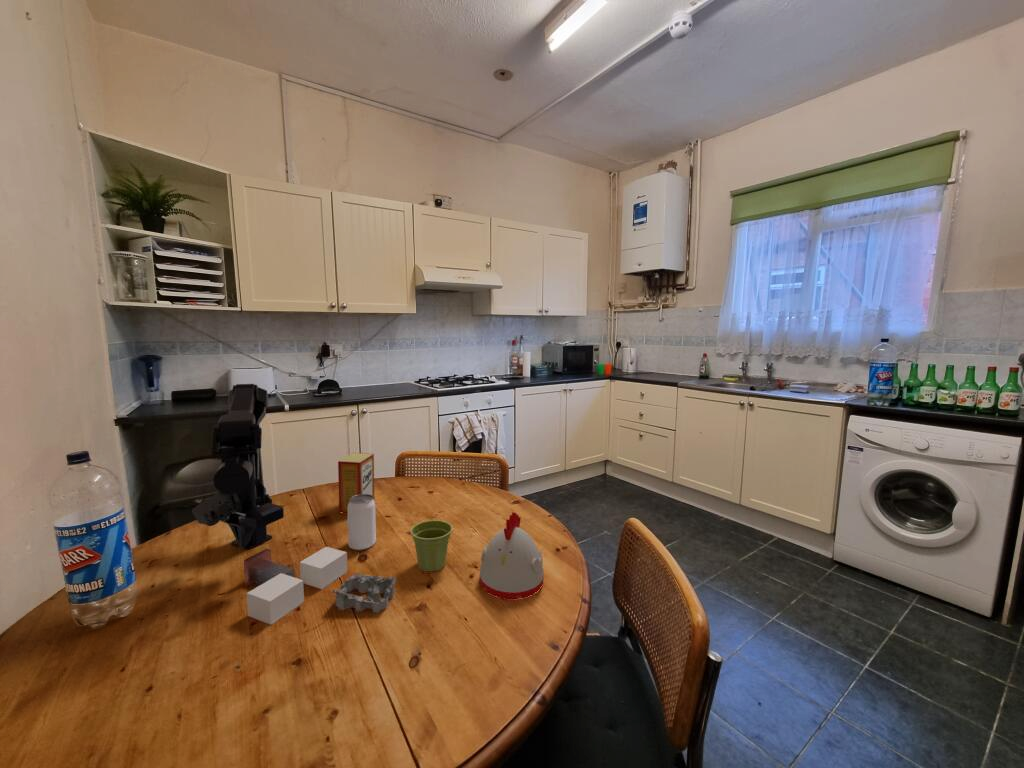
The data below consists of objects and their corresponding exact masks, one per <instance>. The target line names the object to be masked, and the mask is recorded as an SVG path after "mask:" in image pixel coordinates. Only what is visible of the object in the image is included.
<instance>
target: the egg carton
mask: <svg viewBox="0 0 1024 768" xmlns="http://www.w3.org/2000/svg"><path fill="white" fill-rule="evenodd" d="M396 579H397V576H396V575H395V576H388V577H385V576H382V577H381V576H380V575H364V574H361V573H355V574H353V575H351V576H349V577H348V578H347V579H345V581H344V582H343V583H342V584H341V585H340V589H338V588H336V589H333V590H332V594H335V607H337V608H338V610H339V611H345V610H347V609H349V608H354V609H355V612H362V611H364V610H365V609H371V610H372V612H373V613H378V614H379V612H381V611H384V610H387V609H388V607H389V600H390V599H393V598H394V597H395V584H396ZM353 590H358V592H359V593H360V594H365V593H367V596H366V598H365V599H364V597H363V596H361V595H356V594H352V593H350V592H352V591H353ZM381 594H384V596H383V598H381Z"/></svg>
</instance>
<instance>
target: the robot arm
mask: <svg viewBox="0 0 1024 768" xmlns="http://www.w3.org/2000/svg"><path fill="white" fill-rule="evenodd" d="M269 404H270V402H269V395H268V391H267V390H266V389H265V388H262V387H259V386H258V384H255V383H237V384H234V385H232V389H230V390H229V391H228V407H229V411H228V413H225V414H223V415H222V416H220V418H219V420H218V422H217V425H214V427H213V437H212V450H211V451H212V452H211V457H212V458H213V459H216V458H221V464H220V466H219V467H218V469H217V471H216V472H215V474H214V476H213V485H214V487H215V488H216V491H217V492H216V494H213V495H212V496H209V497H206V498H203V499H202V500H201V501H200V503H199V504H197V505H196V506H195V507H193V508H192V510H191V511H192V514H193V515H194V517H195V519H196V521H197V522H198V524H199V525H201V524H203V525H205V526H208V527H212V526H215V525H217V524H218V523H219V522H221V523H224V524H227V525H228V527H229V529H230V530H231V533H232V534H233V536H234V538H235V539H234V540H232V541H231V542H230V544H231V545H234V546H236V547H239V548H241V549H245V550H249V549H253V548H255V547H256V546H258V545H260V544H262V543H264V542H267V541H268V540H270V539H272V538H273V535H271V534H269V533H268V532H267V526H268V525H270V524H273V523H275V522H277V521H279V520H281V519H283V518H285V512H284V511H285V510H284V507H283V506H282V505H279V504H275V503H273V499H272V498H271V497H270V494H269V493H267V488H266V487H265V485H264V484H263V482H262V481H261V479H260V449H262V442H263V441H262V438H263V434H262V433H263V432H262V431H263V429H262V428H261V426H260V424H261V423H262V421H263V420H264V419H265V417H266V415H267V414H266V413H267V412H266V411H267V408H269ZM212 458H211V459H212ZM267 533H268V534H267Z"/></svg>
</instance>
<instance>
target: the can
mask: <svg viewBox="0 0 1024 768" xmlns="http://www.w3.org/2000/svg"><path fill="white" fill-rule="evenodd" d="M376 523H377V522H376V501H375V499H374V500H373V496H372V495H369V494H360V495H355V496H353V497H351V498H350V499H349V504H348V514H347V542H348V543H347V544H348V548H349V549H351V550H354V551H363V550H367V549H370V548H372V547H373V546H374V544H375V543H376V542H377V541H376V538H377V536H376V534H377V533H376V532H377V529H376Z"/></svg>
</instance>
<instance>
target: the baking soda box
mask: <svg viewBox="0 0 1024 768" xmlns="http://www.w3.org/2000/svg"><path fill="white" fill-rule="evenodd" d="M374 457H375V455H374V453H368V452H367V453H366V452H364V453H363V452H353V453H351V454H348V455H346V456H345V457H343V458H342V459H340V460H338V461H337V469H338V470H337V471H338V472H337V473H338V475H337V476H338V477H337V478H338V507H339V509H338V510H339V512H343V513H348V504H349V499H350V498H351V497H353V496H355V495H360V494H369V495H372V496H373V500H374V501H375V458H374ZM339 512H338V513H339Z"/></svg>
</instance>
